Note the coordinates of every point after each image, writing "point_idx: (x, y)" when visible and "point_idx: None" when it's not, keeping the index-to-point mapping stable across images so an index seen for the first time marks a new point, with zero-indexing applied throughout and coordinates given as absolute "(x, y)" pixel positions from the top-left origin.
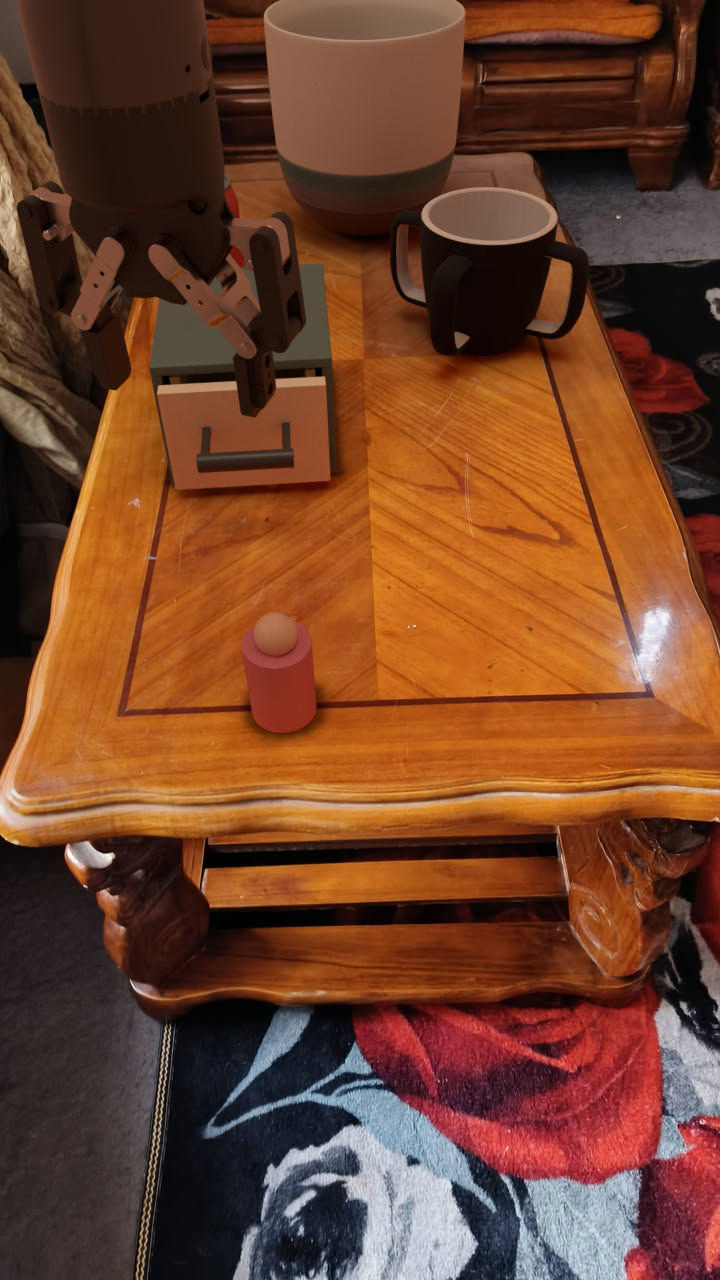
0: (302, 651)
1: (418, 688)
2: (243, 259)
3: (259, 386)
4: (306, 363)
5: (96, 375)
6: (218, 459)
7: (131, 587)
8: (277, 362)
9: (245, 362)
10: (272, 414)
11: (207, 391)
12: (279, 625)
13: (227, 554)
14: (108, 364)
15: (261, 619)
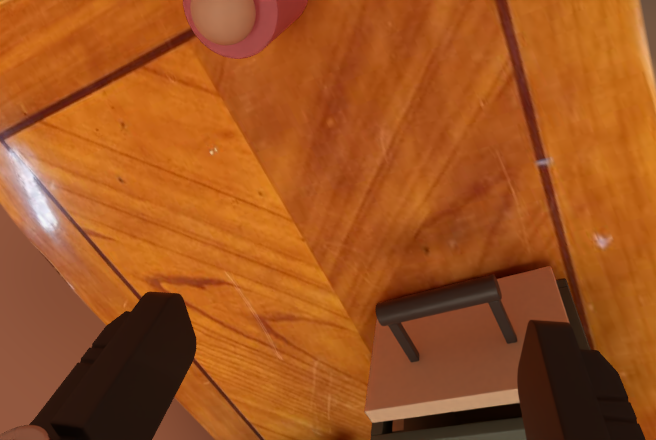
0: (189, 5)
1: (162, 73)
2: None
3: (95, 357)
4: (398, 438)
5: (597, 355)
6: (467, 295)
7: (551, 107)
8: (432, 437)
9: (56, 413)
10: (428, 369)
11: (510, 389)
12: (199, 10)
13: (448, 192)
14: (547, 387)
15: (233, 14)
